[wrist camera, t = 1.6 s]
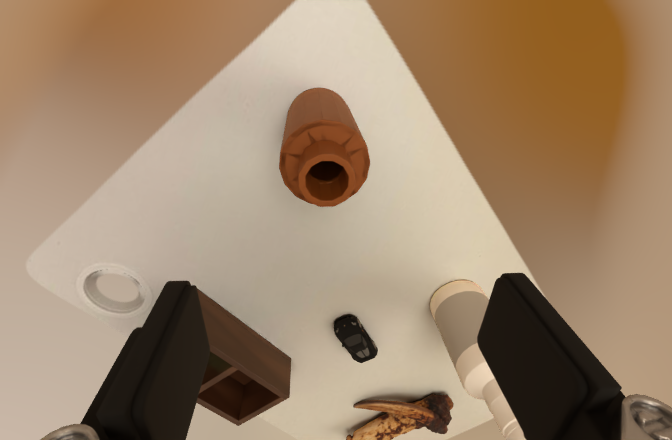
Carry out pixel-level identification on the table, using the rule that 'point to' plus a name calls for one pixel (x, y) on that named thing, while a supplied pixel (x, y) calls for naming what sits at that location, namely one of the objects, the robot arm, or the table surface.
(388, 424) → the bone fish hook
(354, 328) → the toy car
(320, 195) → the bottle
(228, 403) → the holder
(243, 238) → the table surface
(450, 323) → the spray bottle
